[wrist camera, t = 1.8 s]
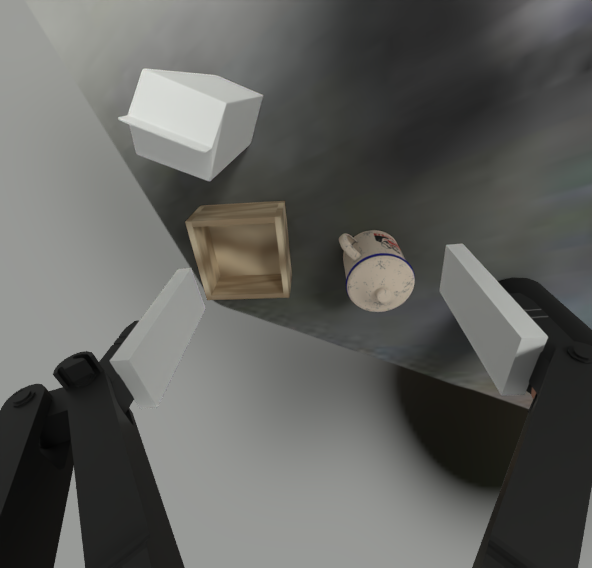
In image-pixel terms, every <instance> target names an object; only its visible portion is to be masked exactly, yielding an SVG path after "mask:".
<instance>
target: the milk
mask: <svg viewBox="0 0 592 568" xmlns="http://www.w3.org/2000/svg"><path fill="white" fill-rule="evenodd" d="M262 99H263V95H262V94H259V93H257V92H255V91H252V90H250V89H248V88H245V87H243V86H241V85H238V84H236V83H234V82H231V81H229V80H227V79H224V78H222V77H220V76H217V75H209V74H198V73H187V72H176V71H166V70H155V69H143V70H142V72H141V75H140V78H139V81H138V84H137V88H136V91H135V94H134V97H133V100H132V103H131V106H130V109H129V112H128V115H127V116H122V117H118V119H119V120H120V121H122V122H124V123H127V124H129V126H130V130H131V134H132V138H133V143H134V147H135V151H136V154H137V155H139V156H142V157H145V158H147V159H150V160H153V161H155V162H158V163H161V164H164V165H166V166H169V167H172V168H174V169H177V170H180V171H182V172H185V173H188V174H190V175H193V176H196V177H198V178H201V179H204V180H206V181H209V182H210V181H211V180H212V179H213V178H214V177H216V176H217V175H218V174H219V173H220V172H221V171H222V170H223V169H224V168H225V167H226V166H227V165H228V164H230V163H231V162H232V161H233V160H234V159H235V158H236V157H237V156H238V155H239V154H240V153H241V152H243V151H244V150H245V149H246V148H247V147H248V146H249V145H250V144H251V140H252V137H253V133H254V129H255V125H256V121H257V118H258V114H259V110H260V106H261V102H262Z"/></svg>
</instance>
